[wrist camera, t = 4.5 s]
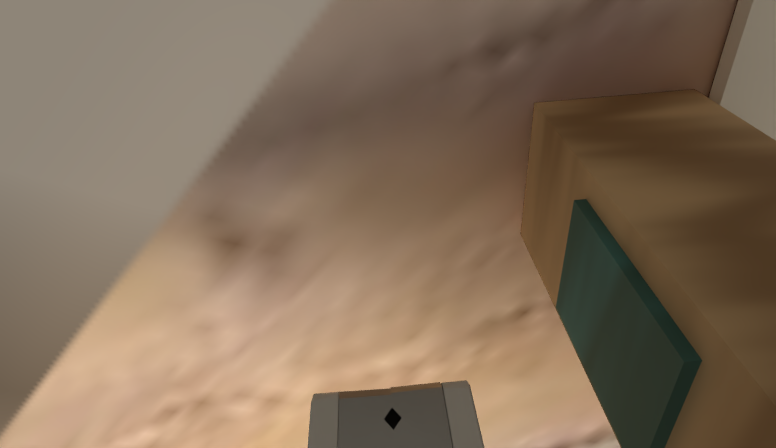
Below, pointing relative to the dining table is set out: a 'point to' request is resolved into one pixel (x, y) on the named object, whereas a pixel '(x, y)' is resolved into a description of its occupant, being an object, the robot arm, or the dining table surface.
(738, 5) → the white board
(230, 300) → the dining table surface
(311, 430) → the robot arm
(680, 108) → the oak block
